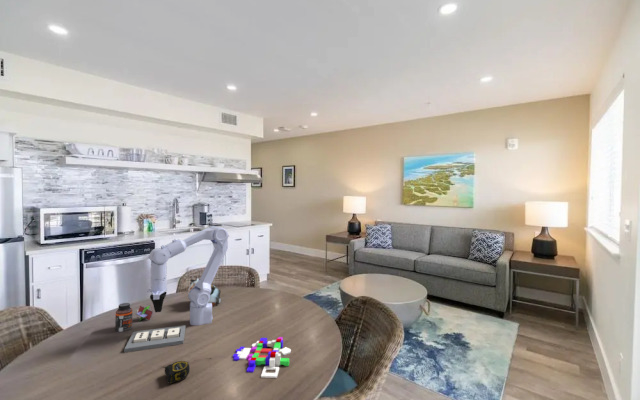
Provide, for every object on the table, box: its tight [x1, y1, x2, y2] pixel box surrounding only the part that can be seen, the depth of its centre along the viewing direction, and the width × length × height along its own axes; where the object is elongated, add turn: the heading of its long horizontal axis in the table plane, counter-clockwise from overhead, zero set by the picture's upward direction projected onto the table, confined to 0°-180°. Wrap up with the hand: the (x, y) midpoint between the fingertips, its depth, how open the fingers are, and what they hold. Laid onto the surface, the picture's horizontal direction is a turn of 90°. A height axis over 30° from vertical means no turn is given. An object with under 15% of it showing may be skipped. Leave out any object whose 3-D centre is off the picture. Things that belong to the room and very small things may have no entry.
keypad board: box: [123, 324, 186, 353], centre depth 115 cm, size 19×14×2 cm
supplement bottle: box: [114, 302, 133, 333], centre depth 123 cm, size 6×6×11 cm
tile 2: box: [166, 328, 180, 339], centre depth 117 cm, size 4×6×4 cm, turn 21°
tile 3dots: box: [134, 331, 149, 343], centre depth 113 cm, size 4×6×4 cm, turn 21°
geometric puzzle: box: [135, 304, 154, 322], centre depth 135 cm, size 7×7×8 cm
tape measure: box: [164, 360, 190, 385], centre depth 93 cm, size 7×7×4 cm
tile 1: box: [150, 329, 165, 341], centre depth 115 cm, size 4×6×4 cm, turn 21°
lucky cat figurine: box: [187, 277, 222, 308], centre depth 156 cm, size 17×14×16 cm
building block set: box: [232, 336, 292, 379], centre depth 107 cm, size 25×20×4 cm
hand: (158, 311), depth 120 cm, fingers closed
